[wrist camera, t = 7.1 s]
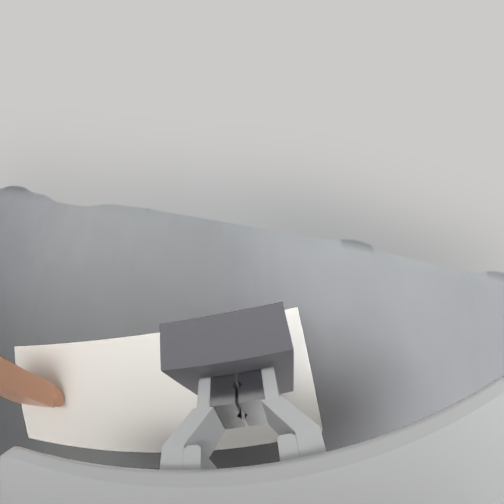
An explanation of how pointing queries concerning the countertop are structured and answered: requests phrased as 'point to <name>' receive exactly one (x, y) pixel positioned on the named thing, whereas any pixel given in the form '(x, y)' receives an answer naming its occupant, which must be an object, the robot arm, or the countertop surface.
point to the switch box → (136, 394)
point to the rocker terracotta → (27, 387)
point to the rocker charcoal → (229, 346)
